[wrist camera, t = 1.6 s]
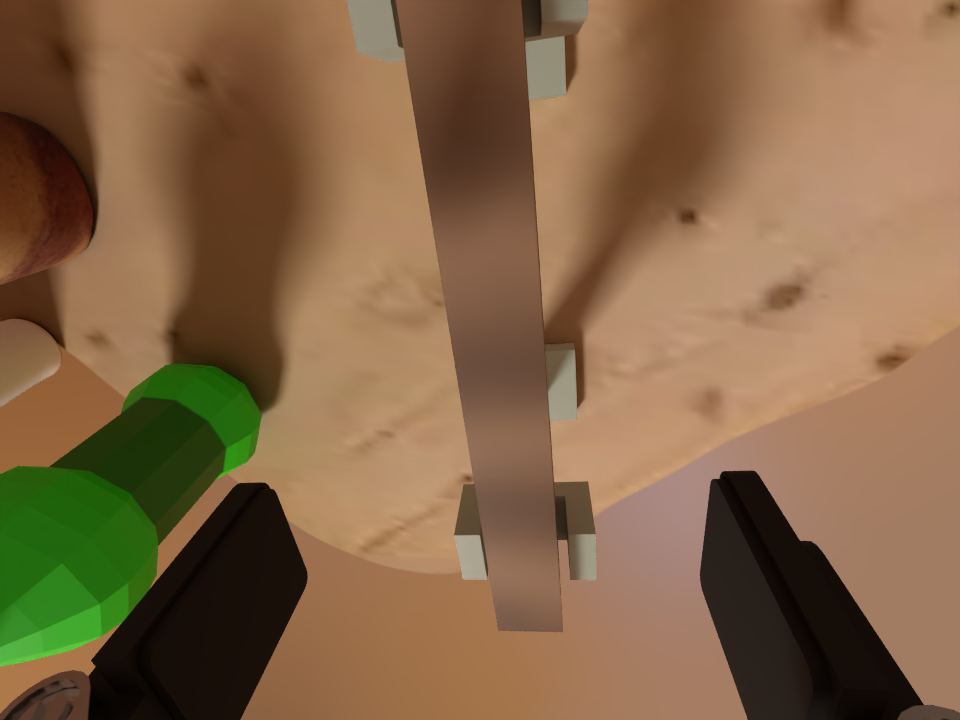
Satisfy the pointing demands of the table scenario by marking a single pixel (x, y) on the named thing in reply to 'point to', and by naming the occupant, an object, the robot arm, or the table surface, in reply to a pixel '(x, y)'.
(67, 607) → the plastic bottle
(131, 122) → the table surface
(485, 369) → the walnut rail
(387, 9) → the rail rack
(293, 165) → the table surface
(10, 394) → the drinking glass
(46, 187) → the wafer roll
